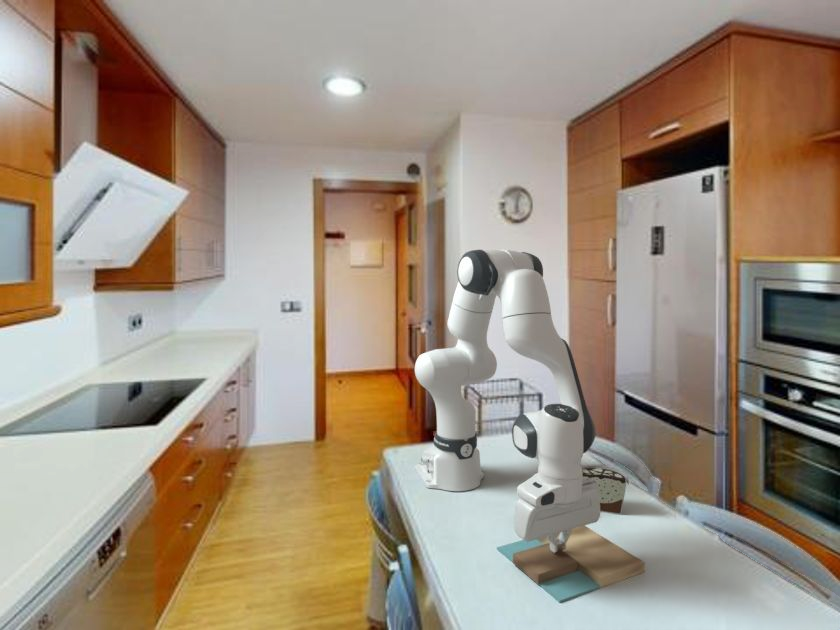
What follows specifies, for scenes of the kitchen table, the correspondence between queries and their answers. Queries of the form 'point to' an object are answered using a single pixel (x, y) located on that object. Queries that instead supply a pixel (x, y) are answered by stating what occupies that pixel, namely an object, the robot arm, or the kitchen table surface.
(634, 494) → the kitchen table surface
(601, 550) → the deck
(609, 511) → the cake slice
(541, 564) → the tile
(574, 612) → the kitchen table surface
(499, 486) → the kitchen table surface
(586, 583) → the mat
